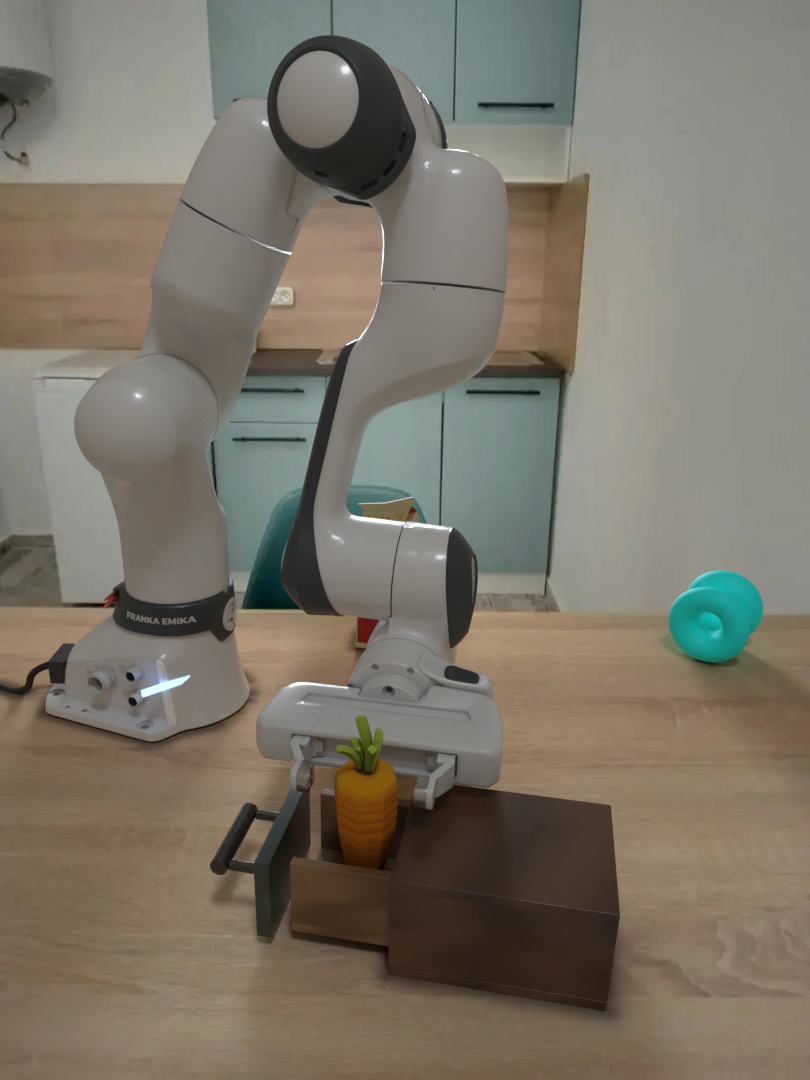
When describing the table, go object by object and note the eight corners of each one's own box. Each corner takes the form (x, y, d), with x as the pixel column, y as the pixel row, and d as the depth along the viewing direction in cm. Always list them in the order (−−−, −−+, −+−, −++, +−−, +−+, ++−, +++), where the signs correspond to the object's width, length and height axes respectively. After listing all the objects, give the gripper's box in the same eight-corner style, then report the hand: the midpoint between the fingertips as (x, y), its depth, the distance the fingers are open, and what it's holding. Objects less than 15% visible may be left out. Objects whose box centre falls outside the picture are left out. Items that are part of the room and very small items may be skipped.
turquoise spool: (660, 652, 109) (670, 582, 105) (684, 625, 116) (694, 559, 113) (739, 675, 103) (752, 603, 100) (758, 646, 111) (771, 577, 108)
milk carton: (433, 628, 114) (438, 488, 107) (411, 658, 105) (416, 509, 98) (371, 617, 116) (372, 480, 109) (345, 646, 108) (345, 500, 101)
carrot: (389, 916, 63) (392, 749, 58) (326, 905, 64) (324, 739, 59) (402, 870, 68) (406, 711, 62) (343, 861, 68) (342, 703, 63)
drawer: (203, 927, 63) (198, 855, 61) (251, 835, 73) (248, 770, 70) (447, 967, 60) (451, 893, 58) (463, 867, 70) (467, 800, 67)
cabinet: (388, 974, 61) (390, 880, 58) (414, 863, 71) (417, 779, 68) (606, 1011, 58) (620, 915, 55) (599, 890, 69) (611, 804, 66)
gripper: (283, 653, 75) (225, 739, 62) (510, 678, 72) (498, 774, 59) (284, 713, 77) (229, 808, 64) (505, 741, 74) (492, 846, 61)
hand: (360, 792), depth 62 cm, fingers open, 8 cm apart
